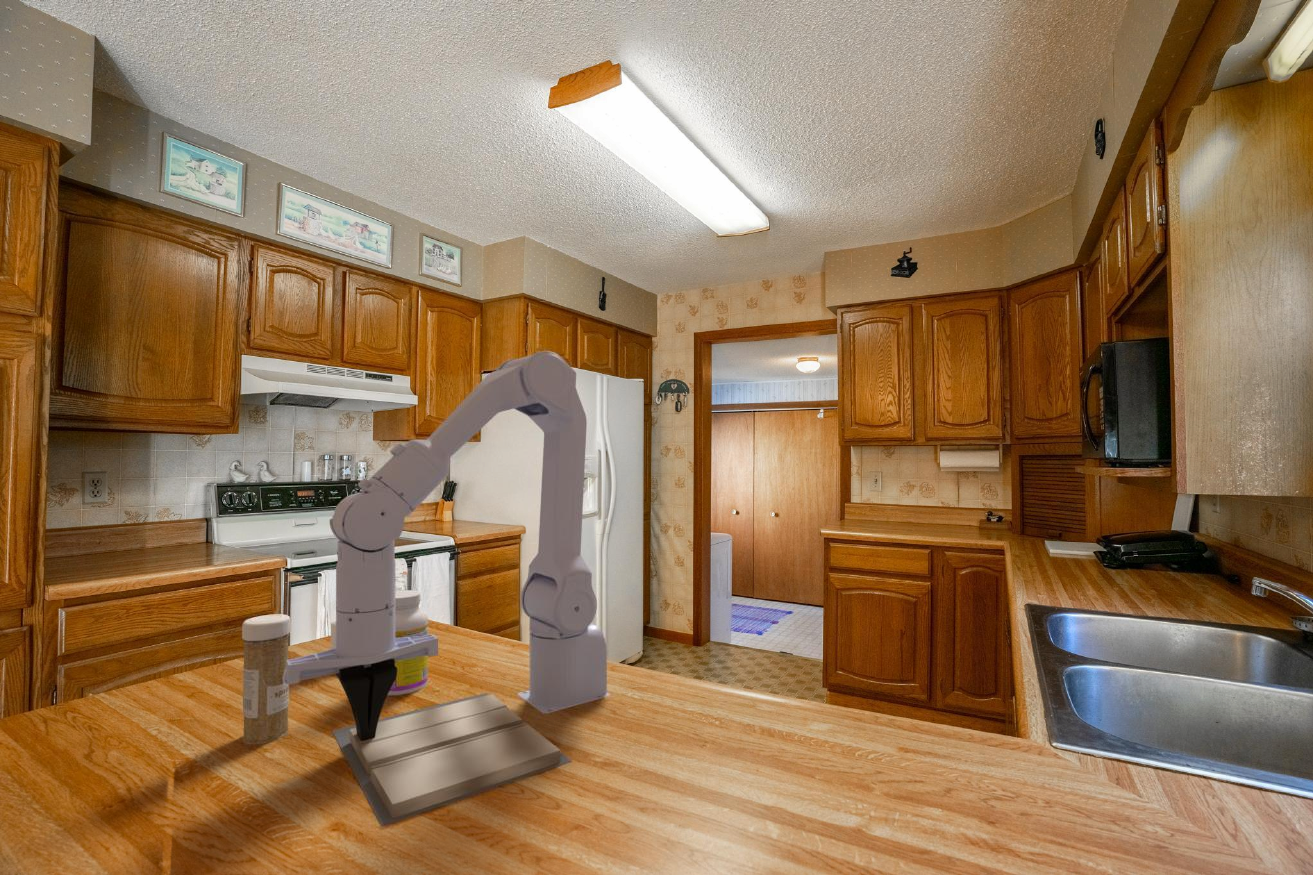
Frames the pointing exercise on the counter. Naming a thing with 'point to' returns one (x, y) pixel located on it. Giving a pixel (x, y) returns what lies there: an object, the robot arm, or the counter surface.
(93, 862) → the counter surface
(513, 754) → the plank
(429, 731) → the loose plank
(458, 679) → the counter surface
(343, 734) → the plate
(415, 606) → the supplement bottle
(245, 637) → the sprinkles bottle
